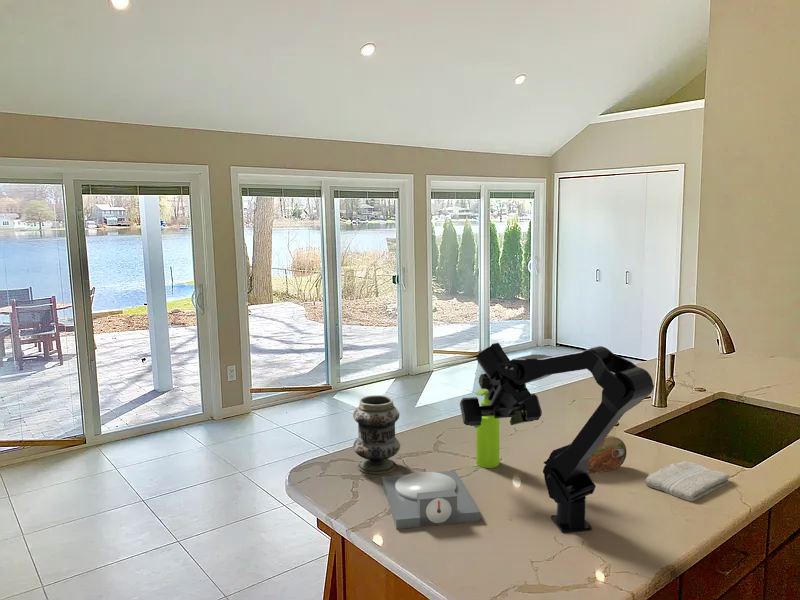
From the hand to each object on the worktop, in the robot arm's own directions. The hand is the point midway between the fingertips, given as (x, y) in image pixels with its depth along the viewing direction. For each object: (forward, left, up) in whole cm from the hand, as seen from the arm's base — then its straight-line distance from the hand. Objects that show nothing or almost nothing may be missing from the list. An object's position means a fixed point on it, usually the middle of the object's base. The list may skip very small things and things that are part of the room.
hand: (493, 424), depth 156 cm
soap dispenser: (+6, 0, -13) cm, 14 cm away
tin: (-3, -26, -13) cm, 29 cm away
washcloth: (-15, -43, -13) cm, 48 cm away
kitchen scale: (-12, +19, -13) cm, 26 cm away
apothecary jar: (+10, +28, -13) cm, 32 cm away
